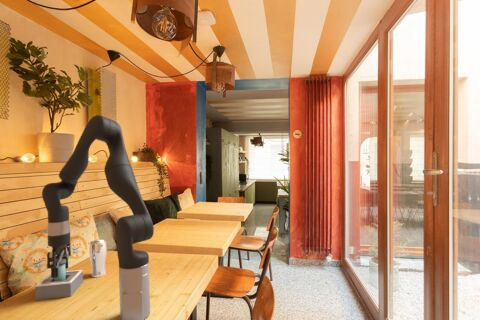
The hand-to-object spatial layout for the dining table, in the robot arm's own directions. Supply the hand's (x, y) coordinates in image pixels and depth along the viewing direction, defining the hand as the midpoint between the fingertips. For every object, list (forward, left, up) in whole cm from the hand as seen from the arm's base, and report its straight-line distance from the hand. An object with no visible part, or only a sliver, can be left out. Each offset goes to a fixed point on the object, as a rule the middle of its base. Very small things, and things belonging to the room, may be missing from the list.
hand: (60, 272), depth 107 cm
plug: (0, 0, -7) cm, 7 cm away
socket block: (0, 0, -7) cm, 7 cm away
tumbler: (+13, -10, -7) cm, 18 cm away
